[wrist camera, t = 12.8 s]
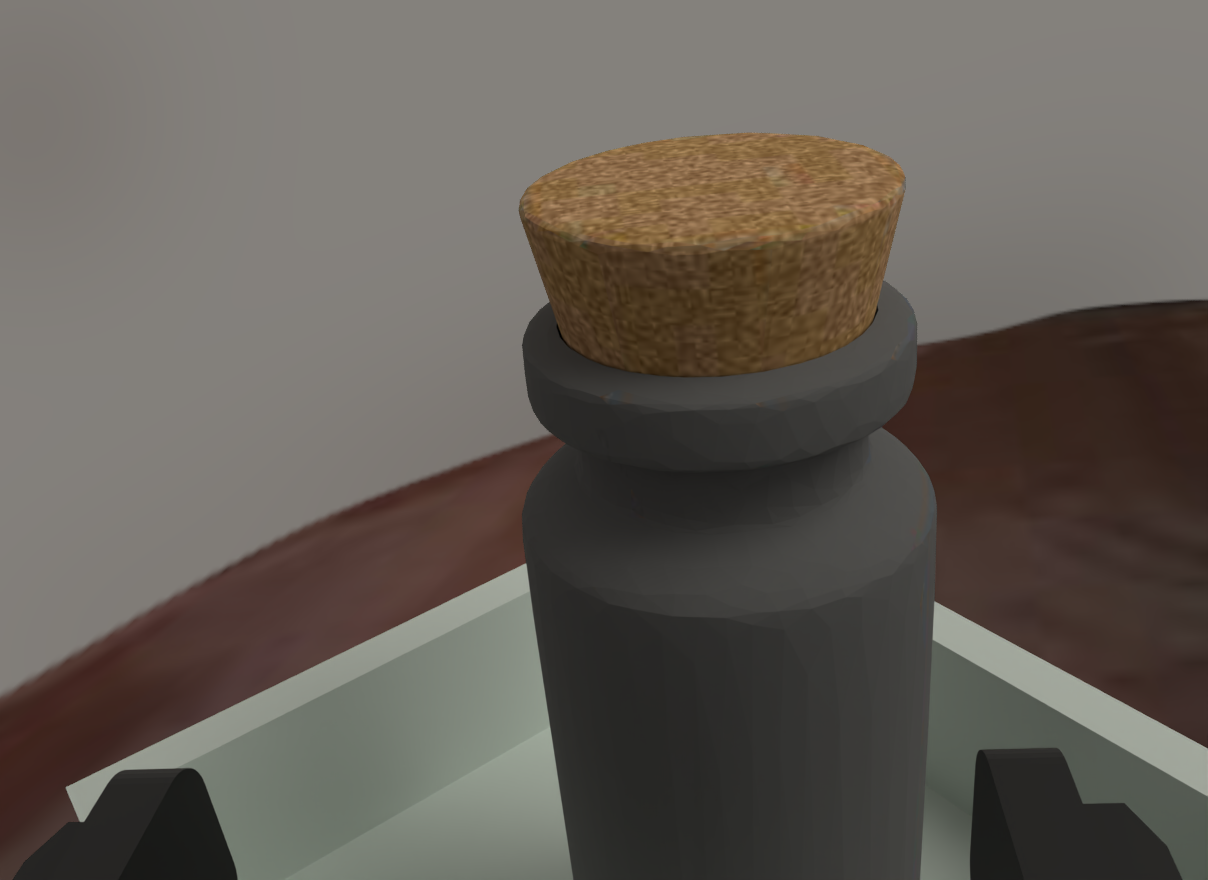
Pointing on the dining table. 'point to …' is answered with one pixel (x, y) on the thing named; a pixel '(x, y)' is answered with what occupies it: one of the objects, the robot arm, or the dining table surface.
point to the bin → (528, 769)
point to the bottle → (729, 512)
